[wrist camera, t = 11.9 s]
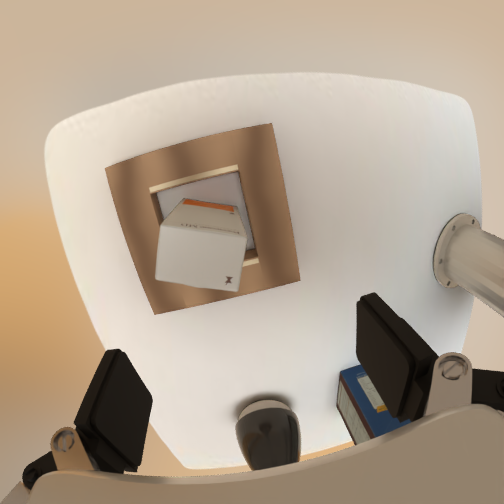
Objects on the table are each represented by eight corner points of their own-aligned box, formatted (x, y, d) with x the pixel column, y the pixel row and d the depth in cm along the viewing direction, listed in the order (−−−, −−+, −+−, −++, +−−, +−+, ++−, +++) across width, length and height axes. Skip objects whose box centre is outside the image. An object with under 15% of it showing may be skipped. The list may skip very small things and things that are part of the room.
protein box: (403, 380, 45) (440, 432, 30) (335, 406, 44) (364, 470, 29) (414, 342, 41) (462, 397, 26) (338, 370, 40) (377, 443, 25)
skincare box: (237, 205, 29) (251, 237, 18) (230, 242, 30) (239, 295, 19) (181, 196, 28) (158, 223, 17) (176, 234, 29) (154, 282, 18)
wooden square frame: (267, 125, 27) (272, 122, 24) (294, 271, 33) (300, 280, 30) (113, 166, 26) (104, 168, 23) (158, 303, 32) (154, 315, 29)
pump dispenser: (239, 388, 38) (252, 473, 24) (301, 391, 40) (328, 466, 26) (226, 423, 41) (234, 496, 27) (281, 425, 44) (299, 492, 29)
